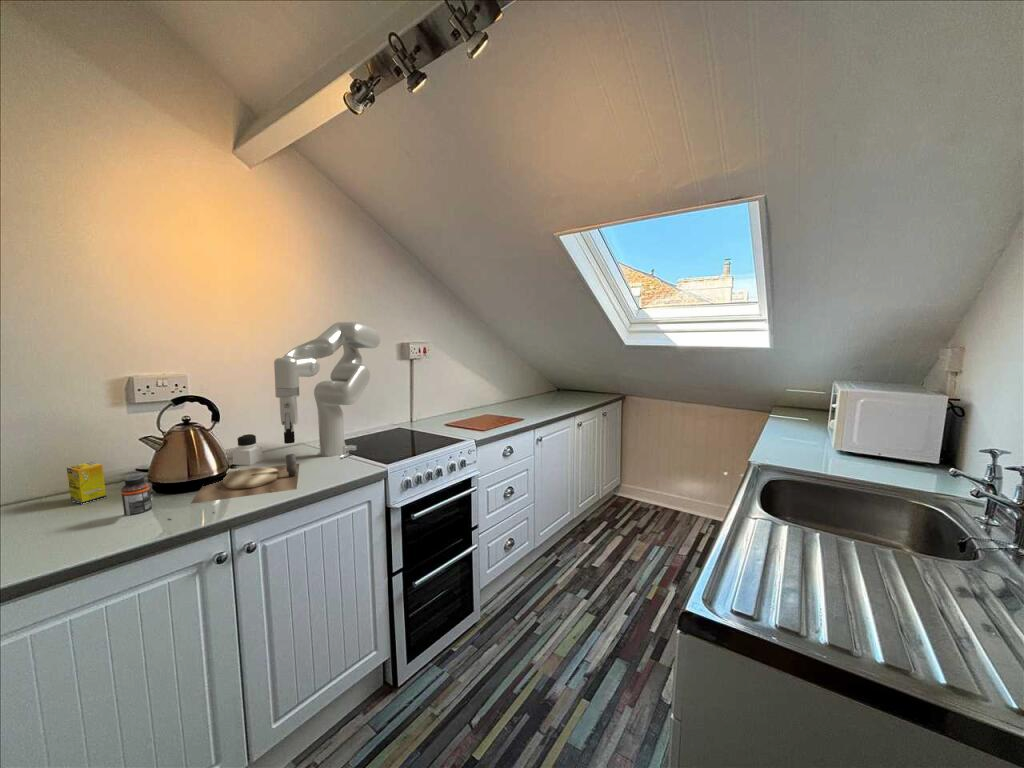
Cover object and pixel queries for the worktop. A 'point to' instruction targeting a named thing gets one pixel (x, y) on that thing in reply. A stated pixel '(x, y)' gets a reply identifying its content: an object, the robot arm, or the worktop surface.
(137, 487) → the supplement bottle
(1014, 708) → the worktop surface
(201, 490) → the walnut board
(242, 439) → the medicine bottle
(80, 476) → the supplement box
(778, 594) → the worktop surface
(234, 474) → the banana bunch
